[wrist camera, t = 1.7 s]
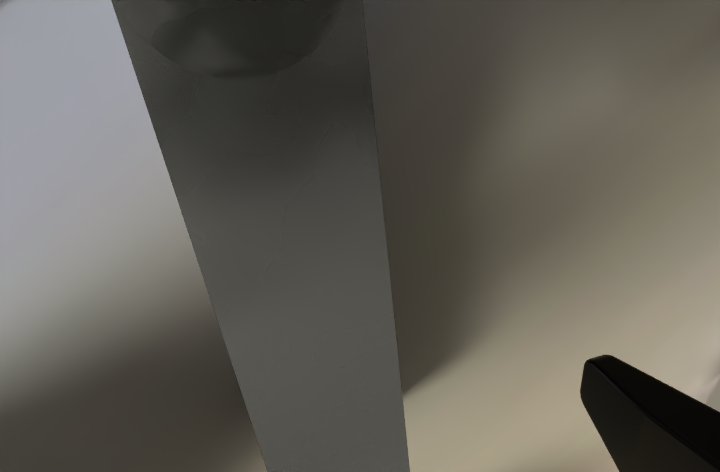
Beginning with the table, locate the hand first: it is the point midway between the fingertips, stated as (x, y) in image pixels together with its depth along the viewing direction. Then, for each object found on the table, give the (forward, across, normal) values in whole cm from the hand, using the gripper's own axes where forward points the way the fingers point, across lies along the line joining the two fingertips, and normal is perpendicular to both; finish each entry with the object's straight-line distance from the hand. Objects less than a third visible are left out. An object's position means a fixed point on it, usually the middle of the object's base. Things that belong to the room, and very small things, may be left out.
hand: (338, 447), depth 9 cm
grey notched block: (+7, 0, 0) cm, 7 cm away
